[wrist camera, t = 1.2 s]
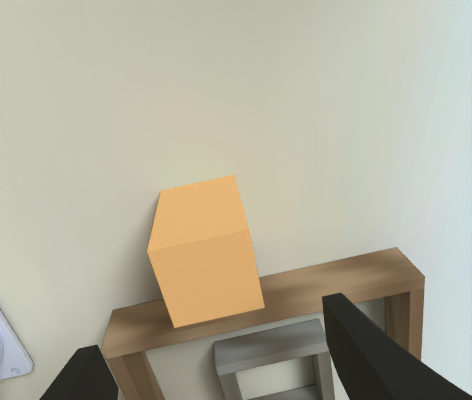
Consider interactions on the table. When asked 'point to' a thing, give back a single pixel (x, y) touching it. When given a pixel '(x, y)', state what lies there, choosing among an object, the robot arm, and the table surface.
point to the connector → (204, 252)
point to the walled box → (279, 339)
